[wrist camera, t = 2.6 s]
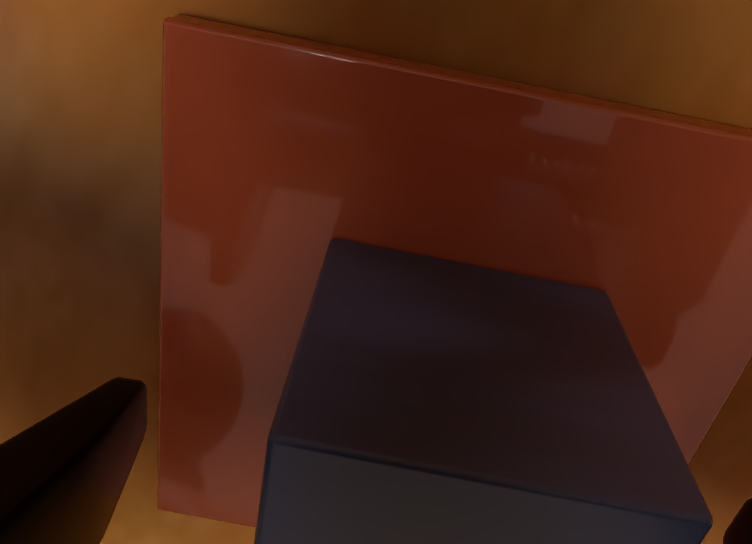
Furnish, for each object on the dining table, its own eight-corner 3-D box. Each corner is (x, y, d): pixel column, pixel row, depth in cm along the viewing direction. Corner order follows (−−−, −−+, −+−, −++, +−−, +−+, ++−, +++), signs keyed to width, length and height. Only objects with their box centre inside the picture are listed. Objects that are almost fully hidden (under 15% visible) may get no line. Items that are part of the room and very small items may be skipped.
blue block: (608, 289, 10) (719, 522, 6) (525, 484, 12) (569, 747, 8) (331, 235, 10) (266, 438, 6) (298, 440, 12) (234, 686, 8)
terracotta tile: (845, 147, 9) (870, 161, 9) (606, 570, 14) (613, 595, 14) (176, 12, 9) (161, 17, 9) (166, 488, 14) (156, 510, 14)
